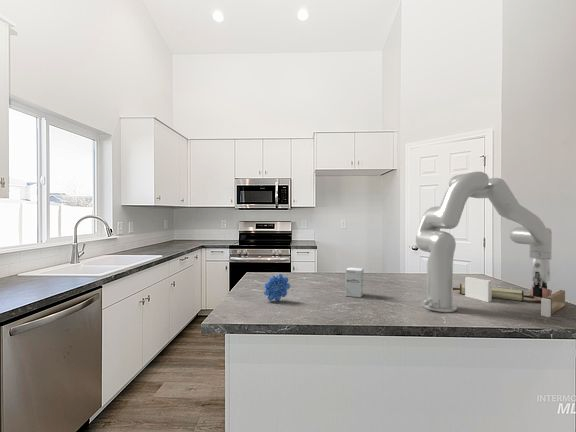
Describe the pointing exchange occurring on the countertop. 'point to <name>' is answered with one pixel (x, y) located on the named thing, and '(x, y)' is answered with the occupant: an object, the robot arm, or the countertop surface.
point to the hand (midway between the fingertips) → (540, 294)
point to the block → (544, 293)
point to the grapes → (276, 287)
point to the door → (557, 300)
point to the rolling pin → (502, 293)
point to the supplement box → (354, 282)
